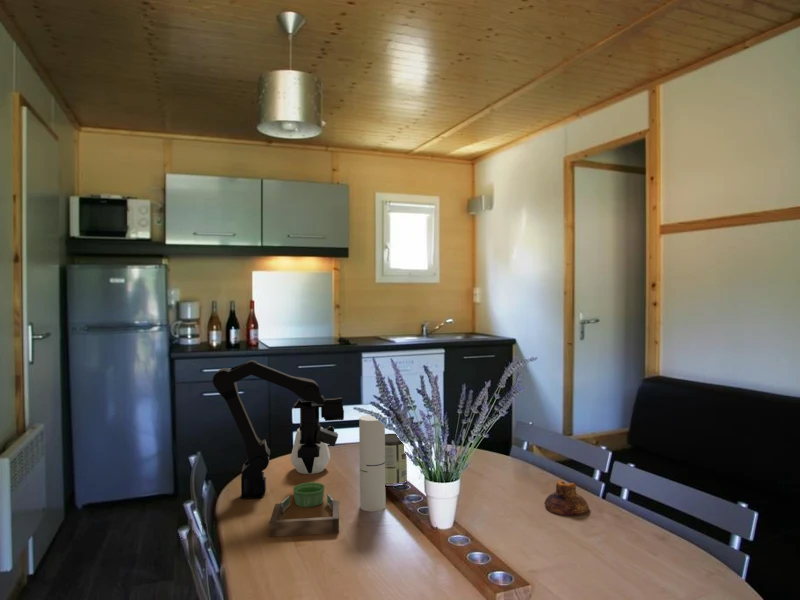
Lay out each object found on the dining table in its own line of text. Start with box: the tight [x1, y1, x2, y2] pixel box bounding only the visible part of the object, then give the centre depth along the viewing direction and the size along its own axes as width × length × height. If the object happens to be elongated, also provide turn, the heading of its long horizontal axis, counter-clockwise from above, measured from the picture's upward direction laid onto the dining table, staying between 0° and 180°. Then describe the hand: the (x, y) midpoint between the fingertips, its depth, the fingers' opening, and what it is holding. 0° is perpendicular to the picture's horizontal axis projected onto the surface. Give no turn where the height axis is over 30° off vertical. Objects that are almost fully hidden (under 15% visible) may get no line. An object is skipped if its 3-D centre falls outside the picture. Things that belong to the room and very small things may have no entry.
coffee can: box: [385, 433, 408, 484], centre depth 177 cm, size 10×10×14 cm
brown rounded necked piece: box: [544, 480, 590, 517], centre depth 154 cm, size 12×12×7 cm
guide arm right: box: [326, 493, 336, 513], centre depth 155 cm, size 6×1×3 cm, turn 22°
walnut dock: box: [268, 500, 340, 538], centre depth 144 cm, size 17×12×4 cm
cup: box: [290, 426, 331, 475], centre depth 190 cm, size 13×13×14 cm
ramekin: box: [292, 481, 325, 508], centre depth 160 cm, size 9×9×4 cm
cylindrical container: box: [358, 414, 387, 512], centre depth 156 cm, size 7×7×25 cm
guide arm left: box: [280, 495, 291, 516], centre depth 154 cm, size 6×1×3 cm, turn 170°
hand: (310, 472), depth 169 cm, fingers closed
